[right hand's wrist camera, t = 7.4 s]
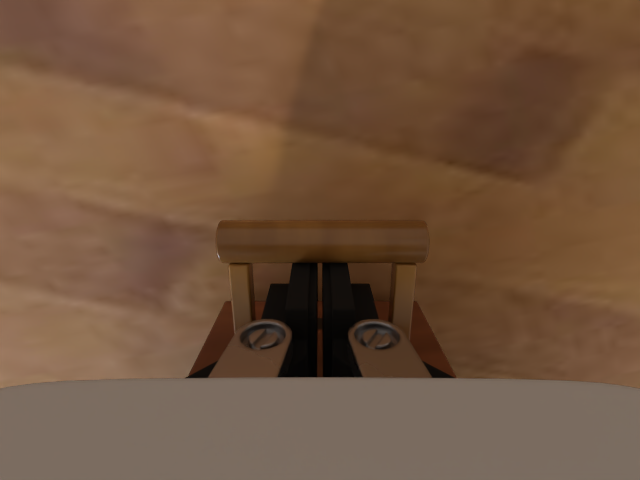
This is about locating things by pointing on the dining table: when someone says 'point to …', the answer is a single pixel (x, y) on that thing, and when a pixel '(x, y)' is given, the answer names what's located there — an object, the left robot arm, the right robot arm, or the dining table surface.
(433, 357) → the drawer
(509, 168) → the dining table surface
